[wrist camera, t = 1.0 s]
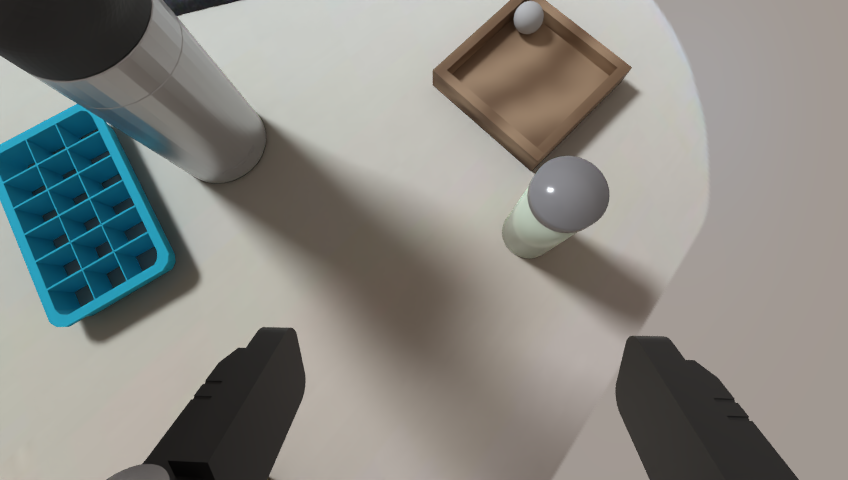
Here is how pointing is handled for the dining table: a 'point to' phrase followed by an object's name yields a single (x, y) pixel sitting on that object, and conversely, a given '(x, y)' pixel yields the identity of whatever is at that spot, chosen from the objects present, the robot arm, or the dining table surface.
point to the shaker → (556, 206)
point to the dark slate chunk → (193, 5)
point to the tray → (529, 80)
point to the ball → (528, 17)
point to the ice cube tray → (77, 213)
